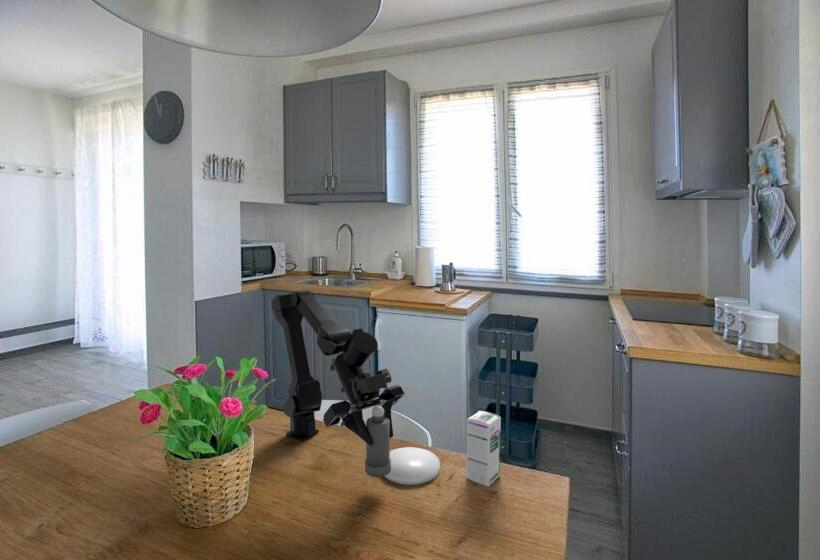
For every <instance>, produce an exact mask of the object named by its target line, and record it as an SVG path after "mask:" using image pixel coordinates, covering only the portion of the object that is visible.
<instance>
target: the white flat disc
mask: <svg viewBox="0 0 820 560" xmlns="http://www.w3.org/2000/svg"><path fill="white" fill-rule="evenodd" d="M390 459H391V471H390V473H389V474H387V475H385V476H383V477H384V478H385V479H387V480H388V481H389V482H392V483H395V484H399V485H405V486H406V485H407V486H414V485H415V486H416V485H417V486H418V485H422V484H426V483H429V482H431V481H433V480H434V479H435V478H436V477H437V476H439V473H440V467H441V465H440V464H441V463H440V459H439V457H438V456H437V455H436V454H435V453H433V452H432V451H430V450H427V449H424V448H421V447H412V446H411V447H410V446H408V447H406V446H405V447H400V448H399V447H398V448H395V449H392V450H390Z"/></svg>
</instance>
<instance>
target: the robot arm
mask: <svg viewBox="0 0 820 560" xmlns="http://www.w3.org/2000/svg"><path fill="white" fill-rule="evenodd" d="M274 296H275V297H274V298H273V299H272V300H271V310H272V312H273V313H274V317H275V320H276V321H277V322H278V324H280V325H281V327H282V328H283V333H284V338H285V339H284V341H285V343H286V351H287V355H288V361H289V367H290V373H291V379H292V380H291V383H290V385H289V388H288V390H287V391H288V398H287V400H286V401H285V403H284V404H283V405H282V406H283V412H284V413H283V414H284V415H285V416H287V417H288V418H289V421H290V422H289V424H290V431H289V430H288V431H287V432H286V434H285V435H286V436H287V437H291V438H293V439H296V440H298V441H301V442H302V441H303V442H304V441H305V440H307V439H308V438H311V437H312V436H314V435H316V434H318V433H319V432H320V430H319V429H316V417H315V415H316V414H315V413H316V412H319V411H321V406H322V402H323V398H324V397H323V393H322V391H321V390H322V389H321V383H320V381H319V380H318V379H315V378H314V377H313V375H312V373H311V369H310V364H309V359H308V355H307V354H308V353H307V349H306V344H305V337H304V333H303V327H302V321H303V319H305V320H306V322H307V323H308V324H309V325H310V327H311V328H312V329H313V331H314V332H315V334H316V344H317V346H318V348H319V351H321V353H322V354H323V355H324V356H325V357H327V356H328V357H331V356H334V355H337V356H336V357H335V358H332V360H331V364H330V365H329V366H330V368H329V370H330V371H331V372H334V371H335V372H336V375H337V377H338V379H339V381H340V384H341V386H342V388H341V389H340V392H341V393H342V394H345V395H346V397H347V400H346V399H345V400H341V401H337V402H335V403H332V404H331V405H330V406H329V407H328V409H327V410H326V411H325V413H324V414H323V422H324V425H325V427H326V428H330V427H333V426H336V425H338V424H339V423H340V422H341V421H342V422H341V423H340V426H341V427H346V429H349V430H350V431H351V432H353V433H355V435H356V436H358V437H359V438H360V439H361V440H362V441H364V442H365V443H367V444H368V445H370V446H371V445H373V440H372V437H371V435H370V433H369V431H368V429H367V427H366V421H364V420H365V419H364V415H363V411H364V410H366V409H369V408H374V407H376V406H381V407H382V408H383V409H384V417H386V418H388V419H389V420H390V439H392V438H393V437H394V430H393V422H392V407H393V406H394V405H396V404H397V403H398V402H399V401H400V400H401V399H402V398H403V397H404V396H405V395H406V393H405V392H404V390H403V388H402V386H401V385H398V384H396V385H393V386H390V387H388V384H389V383H392V376H391V373H390V372H389V370H388V368H384V369H380V370H377V371H376V375H373V376H371V374H370V373H369V372H365V371H364V369H363V366H365V365H366V364H367V363H368V361H369V360H370V359H371V358H372V357H373V355H374V354H375V352H377V350H378V347H379V345H378V340H377V339H376V338H375V337H374V336H373V335H372V334H370V333H368V332H367V331H364V329H363V327H359V328H355V329H353V330H352V332H351V331H350V330H349V329H348V328H347V327H346V326H344V325H343V324H342V323H339V322H336V321H334V320H333V319H332V318H331V317H330V316H329V315H328V313H327V312H326V310H325V309H324V308H323V307H322V306H321V305H320V303H319V302H318V301H317V299H316V298H315V297H314V293H313V292H312V291H311V290H297V291H294V292H291V293H283V294H276V295H274ZM381 389H384V390H383V391H382V392H381ZM380 392H381V393H380ZM379 393H380V394H379ZM377 394H379V395H377Z"/></svg>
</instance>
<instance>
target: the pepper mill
mask: <svg viewBox="0 0 820 560" xmlns="http://www.w3.org/2000/svg"><path fill="white" fill-rule="evenodd" d="M371 415H372V416H371V417H368V418H367V419H366V421H365V424H366V427H367V429H368V431H369V433H370V435H371V437H372V440H373V445H371V446H370V445H368V444H367V443H366V442H365V443H366V445H365V447H366V450H365V452H366V453H365V454H366V455H365V460H364V472H365V474H366V475H368V476H370V477H373V478H382V477H384V476H385V475H387V474H389V473H390V471H391V459H390V451H391V450H390V447H391V445H390V441H391V440H390V439H391V438H390V420H389V419H388V418H386V417H384V409H383V408H382V407H381V406H376V407H375V406H373V407H372V410H371Z"/></svg>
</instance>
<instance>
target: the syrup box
mask: <svg viewBox="0 0 820 560" xmlns="http://www.w3.org/2000/svg"><path fill="white" fill-rule="evenodd" d="M501 420H502V417H501V416H500V415H498V414H496V413H492V412H489V411H483V410H478V411H477V412H476V413H474V414H473V415H471V416H470V417H468V418H467V419H466V479H467V480H470V481H472V482H475V483H477V484H480V485H481V486H485V487H490V485H491V484H493V482H495V481H496V480H497V479H498V478H499V477H500V476H501V437H502V436H501V434H502V433H501V422H502V421H501Z"/></svg>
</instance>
